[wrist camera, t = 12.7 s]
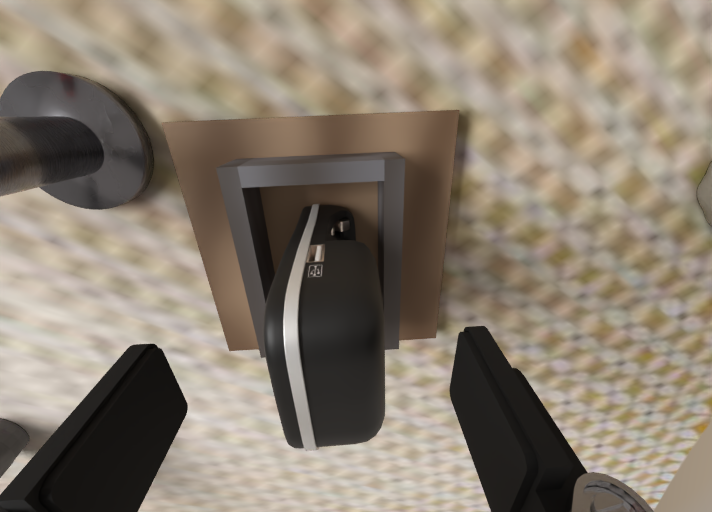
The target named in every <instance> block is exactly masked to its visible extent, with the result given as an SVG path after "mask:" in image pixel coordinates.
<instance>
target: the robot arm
mask: <svg viewBox="0 0 712 512" xmlns="http://www.w3.org/2000/svg"><path fill="white" fill-rule="evenodd" d="M450 397H451V401H452V404H453V406H454V409H455V412H456V415H457V417H458V420H459V423H460V426H461V429H462V431H463V434H464V437H465V440H466V443H467V445H468V448H469V451H470V454H471V456H472V459H473V462H474V465H475V468H476V470H477V473H478V476H479V479H480V482H481V484H482V487H483V490H484V493H485V495H486V498H487V501H488V504H489V507H490V509H491V512H654V511H653V510H652V509H651V508H650V506H649V505H648V504H647V503H646V502H645V500H644V499H643V498H641V497H640V496H639V495H638V494H637V493H636V492H635V491H634V490H632V489H631V488H630V487H628V486H627V485H625V484H624V483H622V482H621V481H619V480H617V479H615V478H613V477H610V476H608V475H606V474H601V473H595V472H592V473H587V471H586V470H585V468H584V467H583V465H582V464H581V462H580V461H579V459H578V457H577V456H576V454H575V453H574V451H573V450H572V448H571V447H570V445H569V444H568V442H567V441H566V439H565V438H564V436H563V435H562V433H561V432H560V430H559V428H558V427H557V425H556V424H555V422H554V421H553V419H552V418H551V416H550V415H549V413H548V412H547V410H546V409H545V407H544V406H543V404H542V403H541V401H540V399H539V398H538V396H537V395H536V393H535V392H534V390H533V389H532V387H531V386H530V384H529V383H528V381H527V380H526V378H525V377H524V375H523V374H522V373H521V371H519V370H518V369H516V368H512V367H511V366H510V364H509V362H508V361H507V359H506V358H505V356H504V355H503V353H502V351H501V350H500V348H499V347H498V345H497V343H496V342H495V340H494V339H493V337H492V335H491V334H490V332H489V331H488V329H487V328H486V327H485V326H476V327H465V329H464V332H460V333H459V336H458V342H457V348H456V354H455V360H454V366H453V372H452V378H451V384H450ZM187 408H188V406H187V402H186V400H185V398H184V395H183V393H182V391H181V389H180V387H179V385H178V383H177V380H176V378H175V376H174V374H173V372H172V370H171V368H170V365H169V363H168V361H167V359H166V357H165V355H164V353H163V351H162V349H160V348H158V347H157V345H155V344H139V345H132V346H130V347H129V348H128V349H127V350H126V351H125V352H124V353H123V355H122V356H121V357H120V358H119V359H118V360H117V362H116V363H115V364H114V365H113V366H112V367H111V368H110V370H109V371H108V372H107V373H106V374H105V375H104V376H103V378H102V379H101V380H100V381H99V382H98V383H97V384H96V386H95V387H94V388H93V389H92V390H91V391H90V392H89V394H88V395H87V396H86V397H85V398H84V399H83V401H82V402H81V403H80V404H79V405H78V406H77V407H76V409H75V410H74V411H73V412H72V413H71V414H70V415H69V417H68V418H67V419H66V420H65V421H64V422H63V423H62V425H61V426H60V427H59V428H58V429H57V430H56V432H55V433H54V434H53V435H52V436H51V437H50V438H49V440H48V441H47V442H46V443H45V444H44V445H43V446H42V448H41V449H40V450H39V451H38V452H37V453H36V454H35V456H34V457H33V458H32V459H31V460H30V461H29V462H28V464H27V465H26V466H25V467H24V468H23V469H22V471H21V472H20V473H19V474H18V475H17V476H16V477H15V479H14V480H13V481H12V482H11V483H10V484H9V485H8V487H7V488H6V489H5V490H4V491H3V492H2V493H1V495H0V512H138V510H139V508H140V506H141V504H142V502H143V500H144V498H145V496H146V494H147V492H148V490H149V488H150V486H151V484H152V482H153V480H154V478H155V476H156V474H157V472H158V470H159V468H160V466H161V464H162V462H163V460H164V458H165V456H166V454H167V452H168V450H169V448H170V446H171V444H172V442H173V440H174V438H175V436H176V434H177V432H178V430H179V428H180V426H181V424H182V422H183V420H184V418H185V416H186V414H187Z"/></svg>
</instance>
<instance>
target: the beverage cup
mask: <svg viewBox="0 0 712 512" xmlns="http://www.w3.org/2000/svg"><path fill="white" fill-rule="evenodd" d="M28 442H29V436H28V434H27V433H26V431H25V430H23V429H22V428H21V427H20V426H18V425H16V424H14V423H12V422H10V421H7V420H4V419H0V478H1V476H2V475H3V474H4V473H5V472H6V470H7V469H8V468H9V467H10V466H11V464H12V463H13V461H14V460H15V458H16V457H17V456H18V454H19V453H20V452H21V450H22V449H23V448H24V447H25V446H26V445H27V443H28Z"/></svg>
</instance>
